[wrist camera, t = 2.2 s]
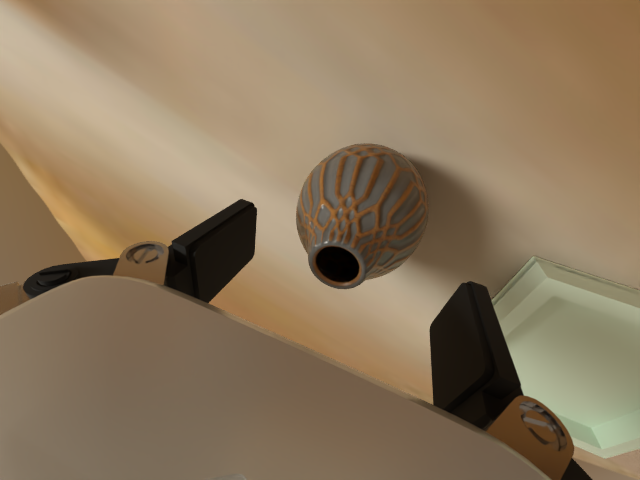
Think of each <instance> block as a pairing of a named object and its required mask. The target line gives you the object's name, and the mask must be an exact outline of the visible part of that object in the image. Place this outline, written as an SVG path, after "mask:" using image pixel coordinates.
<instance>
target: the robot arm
mask: <svg viewBox="0 0 640 480" xmlns="http://www.w3.org/2000/svg"><path fill="white" fill-rule="evenodd" d="M256 218H257V208H256V207H254V204H253V203H251V202H249V201H246V200H243V199H240V200H238V201H237V202H235V203H234V204H232V205H230V206H229V207H227V208H225V209H224V210H222V211H220V212H219V213H217V214H215V215H214V216H212V217H211V218H209V219H207V220H206V221H204V222H202V223H201V224H199V225H197V226H196V227H194V228H193V229H191V230H189V231H188V232H186V233H184V234H183V235H181V236H179V237H178V238H176V239H174V240H173V241H172V245H170V246H169V247H167V246H166V245H165V244H163V243H160V242H156V241H147V242H140V243H137V244H134V245H132V246H129V247H128V248H126V249H125V250H124V251H123V252H122V254H121V255H120V258H116V259H107V260H98V261H89V262H82V263H72V264H63V265H58V266H52V267H49V268H46V269H43V270H41V271H39V272H37V273H35V274H34V275H32V276H31V277H29V278H28V279H27V280H26V281H25V283H24V284H23V285H19V283H18V282H14V283H10V284H6V285H2V286H0V480H592V479H591V478H590V477H589V476H588V475H587V473H586V472H585V471H584V470H583V469H582V468H581V467H580V466H579V465H578V464H577V463H576V462H575V461H574V460H573V459H572V456H573V453H574V445H573V441H572V438H571V436H570V434H569V432H568V430H567V429H566V427H565V426H564V424H563V423H562V422H561V420H560V419H559V418H558V417H557V416H556V415H555V414H554V413H553V412H552V411H551V410H550V409H549V408H548V407H546V406H545V405H544V404H543V403H541V402H539V401H538V400H536V399H534V398H531V397H528V396H524V394H523V391H522V389H521V386H522V385H521V383H520V380H519V377H518V374H517V371H516V369H515V366H514V363H513V360H512V357H511V355H510V352H509V349H508V346H507V343H506V341H505V338H504V335H503V332H502V329H501V326H500V324H499V321H498V318H497V315H496V312H495V310H494V307H493V304H492V301H491V298H490V296H489V293H488V290H487V288H486V287H485V286H483V285H480V284H477V283H474V282H471V281H469V282H467V283H462V284H461V285H460V286H459V287H458V289H457V290H456V291H455V293H454V294H453V295H452V297H451V298H450V299H449V301H448V302H447V303H446V305H445V306H444V307H443V309H442V310H441V311H440V313H439V314H438V315H437V317H436V318H435V319H434V321H433V322H432V324H431V326H430V347H431V366H432V385H433V404H434V405H432V404H430V403H428V402H425V401H423V400H421V399H419V398H417V397H415V396H413V395H411V394H409V393H406V392H404V391H402V390H400V389H398V388H395V387H393V386H391V385H389V384H387V383H384V382H382V381H380V380H378V379H376V378H373V377H371V376H369V375H367V374H365V373H362V372H360V371H358V370H356V369H354V368H351V367H349V366H347V365H345V364H343V363H340V362H338V361H336V360H334V359H332V358H329V357H327V356H325V355H323V354H320V353H318V352H316V351H314V350H312V349H309V348H307V347H305V346H303V345H300V344H298V343H296V342H294V341H292V340H289V339H287V338H285V337H283V336H280V335H278V334H276V333H274V332H271V331H269V330H267V329H265V328H262V327H260V326H258V325H256V324H253V323H251V322H249V321H247V320H244V319H242V318H240V317H238V316H235V315H233V314H231V313H229V312H226V311H224V310H222V309H220V308H217V307H215V306H213V305H210V304H208V303H209V302H210V301H211V300H212V299H213V298H214V297H215V296H216V295H217V294H218V293H219V292H220V291H221V290H222V289H223V288H224V287H225V286H226V285H227V284H228V283H229V282H230V281H231V279H232V278H233V277H234V276H235V275H236V274H237V273H238V272H239V271H240V270H241V269H242V268H243V267H244V266H245V265H246V264H247V263H248V262H249V261H250V260H251V259H252V258H253V256H254V252H255V236H256Z"/></svg>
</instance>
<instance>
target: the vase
mask: <svg viewBox="0 0 640 480" xmlns="http://www.w3.org/2000/svg"><path fill="white" fill-rule="evenodd" d="M427 219H428V199H427V193H426V189H425V186H424V183H423V180H422V178H421V176H420V174H419V172H418V171H417V169H416V168H415V167H414V165H413V164H412V163H411V162H410V161H409V160H408V159H407V158H406V157H404V156H403V155H401V154H400V153H398V152H397V151H395V150H393V149H391V148H388V147H385V146H382V145H377V144H355V145H351V146H347V147H345V148H342V149H340V150H338V151H336V152H334V153H332V154H331V155H329V156H328V157H326V158H325V159H324V160H322V161H321V162H320V163H319V164H318V165H317V166H316V167H315V168H314V169H313V171H312V172H311V173H310V175H309V176H308V178H307V179H306V181H305V183H304V185H303V187H302V190H301V192H300V196H299V199H298V204H297V211H296V223H297V230H298V234H299V237H300V240H301V242H302V244H303V247H304V248H305V250H306V252H307V254H308V261H309V266H310V269H311V271H312V272H313V274H314V275H315V276H316V277H317V278H318V279H319V280H320V281H321V282H323V283H324V284H326V285H328V286H330V287H333V288H337V289H350V288H354V287H356V286H358V285H360V284H361V283H362V282H363V281H365V280H368V279H373V278H377V277H380V276H383V275H385V274H387V273H390V272H391V271H393V270H395V269H396V268H398V267H399V266H400V265H401V264H403V263H404V262H405V261H406V260H407V259H408V258H409V257H410V255H411V254H412V253H413V252H414V250H415V249H416V247H417V246H418V244H419V242H420V240H421V238H422V236H423V234H424V231H425V228H426V224H427Z"/></svg>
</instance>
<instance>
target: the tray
mask: <svg viewBox="0 0 640 480" xmlns="http://www.w3.org/2000/svg"><path fill="white" fill-rule="evenodd" d="M491 301H492V304H493V307H494V310H495V312H496V315H497V318H498V321H499V324H500V326H501V329H502V332H503V335H504V338H505V341H506V343H507V346H508V349H509V352H510V355H511V357H512V360H513V363H514V366H515V369H516V371H517V374H518V377H519V380H520V383H521V385H522V386H521V389H522V391H523V394H524V396H528V397H531V398H534V399H536V400H538V401H539V402H541V403H543V404H544V405H545V406H546V407H548V408H549V409H550V410H551V411H552V412H553V413H554V414H555V415H556V416H557V417H558V418H559V419H560V420H561V422H562V423H563V424H564V426H565V427H566V429H567V430H568V432H569V434H570V436H571V438H572V441H573V445H574V446H576V447H579V448H581V449H583V450H586V451H588V452H590V453H593V454H595V455H597V456H600V457H602V458H604V459H606V458H609V457H613V456H616V455H619V454H623V453H626V452H630V451H633V450H637V449H640V290H636V289H633V288H630V287H627V286H624V285H621V284H618V283H615V282H612V281H609V280H606V279H603V278H600V277H596V276H593V275H590V274H587V273H584V272H581V271H578V270H575V269H572V268H569V267H566V266H563V265H560V264H556V263H553V262H550V261H547V260H544V259H541V258H538V257H535V256H533V257H532V258H531V259H530V260H529V261H528V262H527V263H526V264H525V265H524V266H523V267H522V269H521V270H520V271H519V272H518V273H517V274H516V275H515V276H514V277H513V278H512V279H511V280H510V281H509V282H508V283H507V284H506V285H505V287H504V288H503V289H502V290H501V291H500V292H499V293H498V294H497V295H496V296H495V297H494V298H493V299H492V300H491Z"/></svg>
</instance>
